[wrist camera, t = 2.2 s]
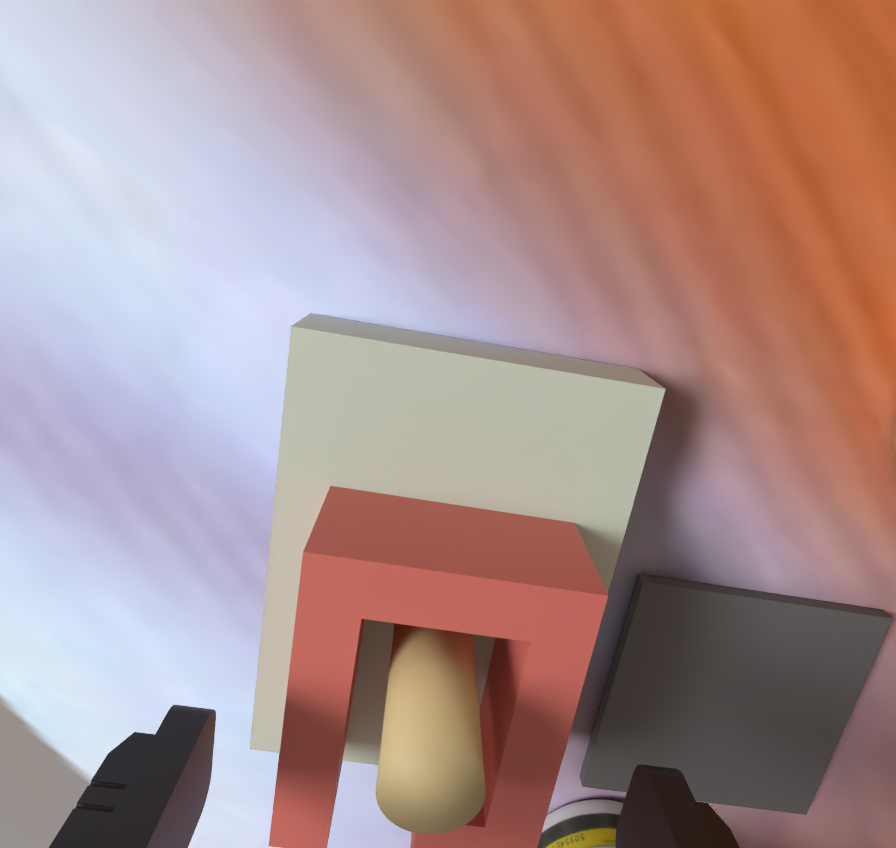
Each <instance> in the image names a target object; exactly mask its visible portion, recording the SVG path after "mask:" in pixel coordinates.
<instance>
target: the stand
mask: <svg viewBox="0 0 896 848" xmlns="http://www.w3.org/2000/svg"><path fill="white" fill-rule="evenodd" d="M665 390H666V389H665V388H664V387H662V386H661V385H660V384H658V383H657V382H655V381H654V380H653V379H651V378H650V377H648V376H647V375H646V374H644V373H643V372H641V371H640V370H639V369H636V368H630V367H624V366H618V365H612V364H606V363H600V362H595V361H589V360H583V359H577V358H571V357H565V356H559V355H553V354H547V353H541V352H535V351H529V350H524V349H518V348H512V347H506V346H500V345H494V344H488V343H482V342H476V341H470V340H464V339H458V338H453V337H447V336H441V335H435V334H429V333H423V332H417V331H411V330H405V329H399V328H393V327H387V326H382V325H376V324H370V323H364V322H358V321H352V320H346V319H340V318H334V317H328V316H322V315H316V314H311V313H310V314H309V315H307V316H306V317H304V318H303V319H301V320H300V321H299V322H297V323H296V324H294V325H293V326H292V327H291V337H290V347H289V357H288V367H287V377H286V387H285V398H284V408H283V418H282V428H281V438H280V448H279V458H278V468H277V478H276V488H275V499H274V509H273V519H272V529H271V539H270V549H269V559H268V569H267V579H266V589H265V600H264V610H263V620H262V630H261V640H260V650H259V660H258V670H257V680H256V691H255V701H254V711H253V721H252V731H251V741H250V749H254V750H262V751H270V752H278V753H280V745H281V737H282V728H283V720H284V711H285V702H286V694H287V685H288V677H289V668H290V660H291V651H292V642H293V634H294V625H295V617H296V608H297V600H298V591H299V582H300V574H301V565H302V557H303V551H304V548H305V546H306V544H307V541H308V539H309V536H310V534H311V532H312V529H313V527H314V524H315V522H316V520H317V517H318V515H319V512H320V510H321V507H322V505H323V503H324V500H325V498H326V495H327V493H328V491H329V488H330V486H336V487H342V488H349V489H355V490H362V491H368V492H375V493H382V494H388V495H395V496H401V497H408V498H414V499H421V500H428V501H434V502H441V503H447V504H454V505H460V506H467V507H474V508H480V509H487V510H493V511H500V512H507V513H513V514H520V515H526V516H533V517H539V518H546V519H553V520H559V521H566V522H572V523H575V524H576V526H577V529H578V531H579V533H580V535H581V537H582V539H583V542H584V544H585V546H586V548H587V550H588V553H589V555H590V557H591V559H592V561H593V563H594V566H595V568H596V570H597V572H598V574H599V577H600V579H601V581H602V583H603V585H604V587H605V590H606V592H607V594H608V592H609V588H610V585H611V581H612V578H613V574H614V571H615V567H616V563H617V560H618V556H619V553H620V549H621V546H622V542H623V539H624V535H625V532H626V528H627V524H628V521H629V517H630V514H631V510H632V507H633V503H634V500H635V496H636V492H637V489H638V485H639V482H640V478H641V475H642V471H643V468H644V464H645V461H646V457H647V453H648V450H649V446H650V443H651V439H652V436H653V432H654V429H655V425H656V421H657V418H658V414H659V411H660V407H661V404H662V400H663V397H664V393H665ZM495 639H496V637H490V636H483V635H476V634H469V633H461V632H454V631H447V630H440V629H433V628H425V627H418V626H411V625H404V624H397V623H390V622H382V621H375V620H368V619H365V620H364V627H363V633H362V640H361V646H360V653H359V659H358V666H357V672H356V678H355V685H354V691H353V698H352V704H351V711H350V717H349V724H348V730H347V737H346V743H345V749H344V754H343V760H342V761H350V762H358V763H366V764H374V765H379V766H378V775H377V784H376V798H377V802H378V805H379V807H380V809H381V811H382V812H383V814H384V815H385V816H386V817H387V818H388V819H389V820H390V821H391V822H393V823H394V824H395V825H397V826H399V827H401V828H402V829H405V830H408V831H411V832H414V833H419V834H442V833H446V832H450V831H453V830H456V829H458V828H460V827H462V826H464V825H465V824H467V823H468V822H470V821H471V820H472V819H473V818H474V817H475V816H476V815H477V814H478V812H479V811H480V809H481V807H482V806H483V803H484V800H485V794H486V787H485V775H484V763H483V751H482V739H481V727H480V715H479V709H480V705H481V700H482V696H483V692H484V687H485V683H486V678H487V674H488V670H489V665H490V661H491V656H492V652H493V648H494V643H495Z"/></svg>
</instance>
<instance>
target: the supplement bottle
mask: <svg viewBox="0 0 896 848" xmlns="http://www.w3.org/2000/svg"><path fill="white" fill-rule="evenodd" d="M623 804H624V803H621V802H617V801H612V800H603V799H596V800H585V801H579V802H575V803H571V804H568V805H565V806H563V807H561V808H559V809H557V810H555V811H553V812H551V813H550V814H548V815H547V816H546V819H545V822H544V826H543V830H542V833H541V837H540V840H539V844H538V847H537V848H616V828H617V823H618V820H619V817H620V814H621V810H622V807H623Z"/></svg>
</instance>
